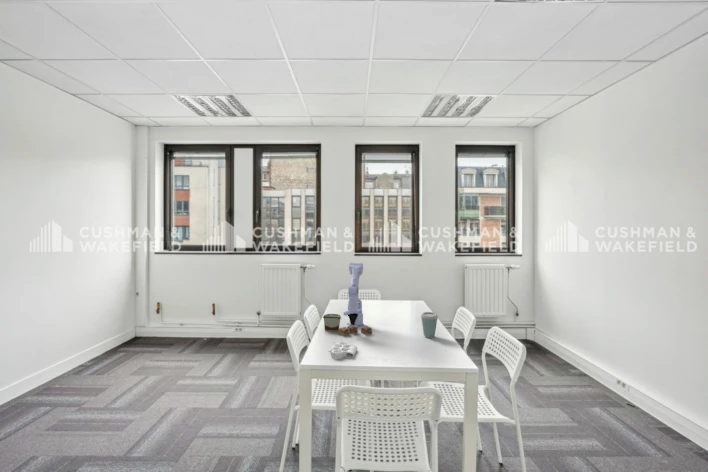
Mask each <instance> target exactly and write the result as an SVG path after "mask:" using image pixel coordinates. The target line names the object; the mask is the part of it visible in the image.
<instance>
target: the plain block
mask: <svg viewBox="0 0 708 472" xmlns="http://www.w3.org/2000/svg"><path fill="white" fill-rule="evenodd" d="M346 328H349V329H350V334H351V335H354V334H355V335H356V334H358V333H359V326H354V325H352V326H351V325H348V326H346Z"/></svg>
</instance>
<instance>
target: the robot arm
mask: <svg viewBox="0 0 708 472" xmlns="http://www.w3.org/2000/svg"><path fill="white" fill-rule="evenodd" d="M348 266H349V267H348V269H349V270H348V271H349V274H350V275H351V278H350V280H349V281H350V282H349V286H348V301H347V311H344V312H343V316H346V317H348V318H349V322H347V323H346V325H348V326H352V325H354V326H357V327H359V326H361V325H362V326H363V325H364V313H363V304H362V303H363V301H362V300H361V299H360V298H359V291H360V287H359V286H360V285H359V284H360V276H362V275H363V273H364V263H363V262H351V261H350V262H349V264H348Z"/></svg>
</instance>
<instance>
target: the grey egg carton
mask: <svg viewBox="0 0 708 472" xmlns="http://www.w3.org/2000/svg"><path fill="white" fill-rule="evenodd" d="M357 350H358V347H357V346H356V345H355V344H348V342H346V341H345V342H344V341H339V342H337V343H335V344H333V345H332V346H331V347H330V350H328V353H330V354H331V356H330V357H331V358H332V359H334V360H338V359H343V358H353V357H354V356H355V354H356V352H357Z"/></svg>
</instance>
